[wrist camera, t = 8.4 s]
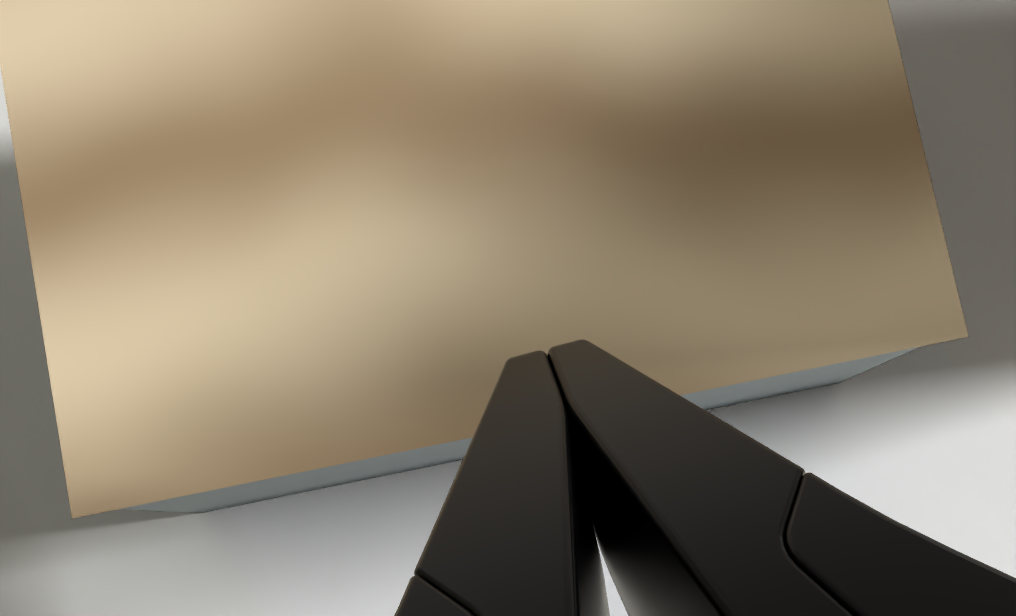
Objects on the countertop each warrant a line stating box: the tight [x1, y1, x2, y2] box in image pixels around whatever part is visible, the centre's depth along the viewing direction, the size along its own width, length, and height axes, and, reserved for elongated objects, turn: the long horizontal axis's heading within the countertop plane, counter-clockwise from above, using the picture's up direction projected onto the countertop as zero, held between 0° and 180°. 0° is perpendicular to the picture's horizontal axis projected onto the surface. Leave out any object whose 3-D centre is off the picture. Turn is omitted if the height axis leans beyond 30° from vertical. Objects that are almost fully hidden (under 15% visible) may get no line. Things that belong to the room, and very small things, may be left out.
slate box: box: [120, 347, 919, 513], centre depth 20 cm, size 10×16×5 cm, turn 101°
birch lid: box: [0, 0, 968, 519], centre depth 16 cm, size 10×16×1 cm, turn 102°
